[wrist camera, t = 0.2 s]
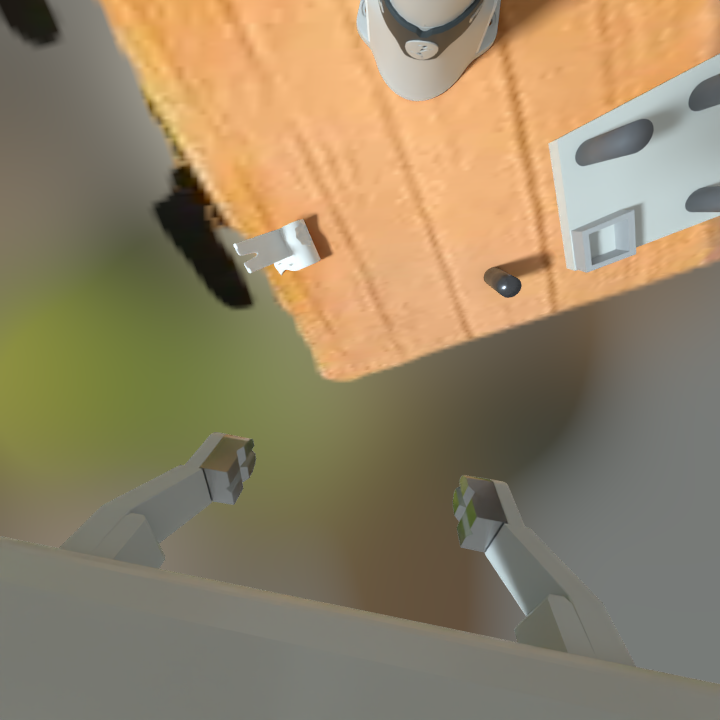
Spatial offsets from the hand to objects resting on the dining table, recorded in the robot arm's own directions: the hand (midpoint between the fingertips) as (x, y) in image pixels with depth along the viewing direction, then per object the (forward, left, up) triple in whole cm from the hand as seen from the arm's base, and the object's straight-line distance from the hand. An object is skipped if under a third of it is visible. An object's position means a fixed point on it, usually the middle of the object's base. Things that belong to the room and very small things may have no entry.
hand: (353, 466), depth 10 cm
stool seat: (-18, +35, -47) cm, 61 cm away
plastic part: (0, -19, -48) cm, 51 cm away
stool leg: (-1, +20, -47) cm, 51 cm away
